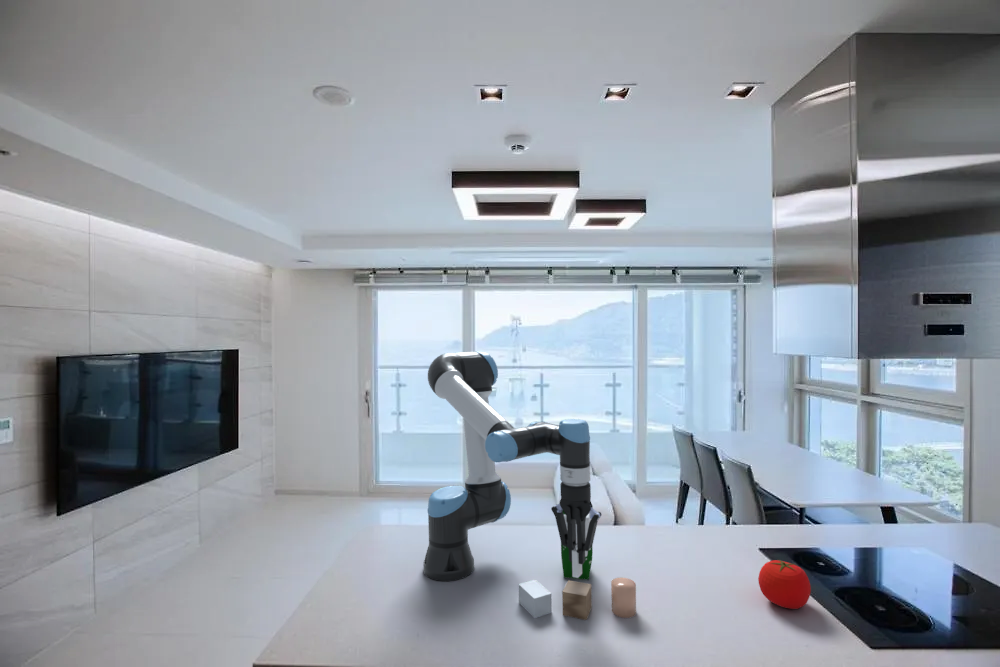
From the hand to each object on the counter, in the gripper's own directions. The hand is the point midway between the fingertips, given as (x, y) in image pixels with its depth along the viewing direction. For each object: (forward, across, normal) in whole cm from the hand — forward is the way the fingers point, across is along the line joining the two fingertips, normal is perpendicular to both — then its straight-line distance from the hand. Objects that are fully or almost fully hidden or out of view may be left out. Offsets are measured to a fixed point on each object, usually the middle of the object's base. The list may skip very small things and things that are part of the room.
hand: (577, 575), depth 126 cm
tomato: (+10, +44, +30) cm, 54 cm away
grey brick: (+9, -10, -4) cm, 14 cm away
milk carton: (+9, -8, +18) cm, 22 cm away
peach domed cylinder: (+9, +10, +6) cm, 15 cm away
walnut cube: (+9, 0, 0) cm, 9 cm away
